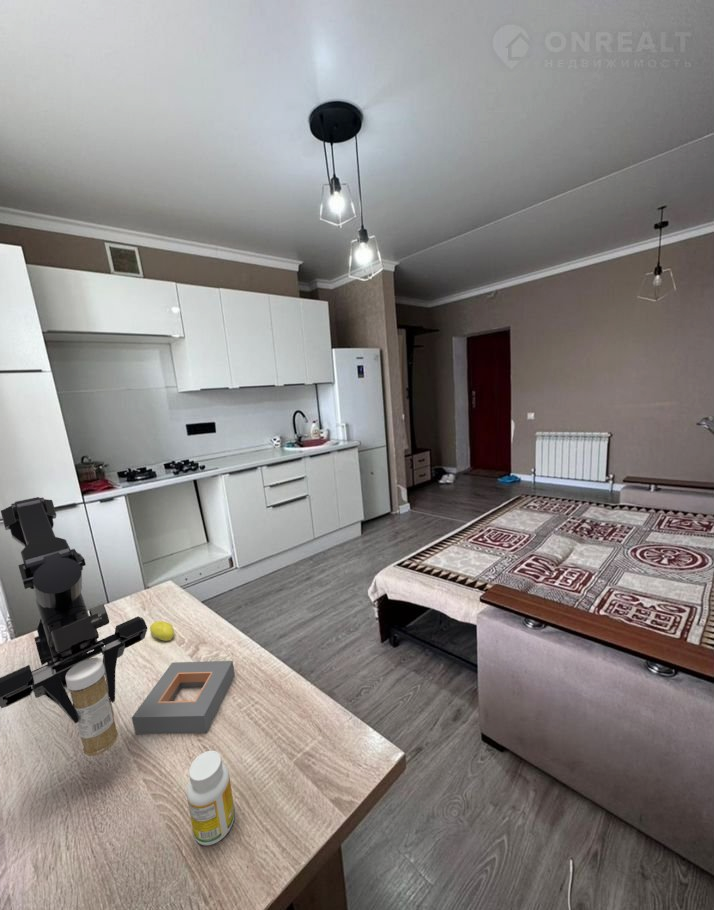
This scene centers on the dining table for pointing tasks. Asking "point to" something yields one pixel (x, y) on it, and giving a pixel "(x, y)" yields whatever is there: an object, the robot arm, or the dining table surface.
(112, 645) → the robot arm
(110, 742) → the sprinkles bottle
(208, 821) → the supplement bottle
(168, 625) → the lemon
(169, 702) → the collar block
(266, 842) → the dining table surface
